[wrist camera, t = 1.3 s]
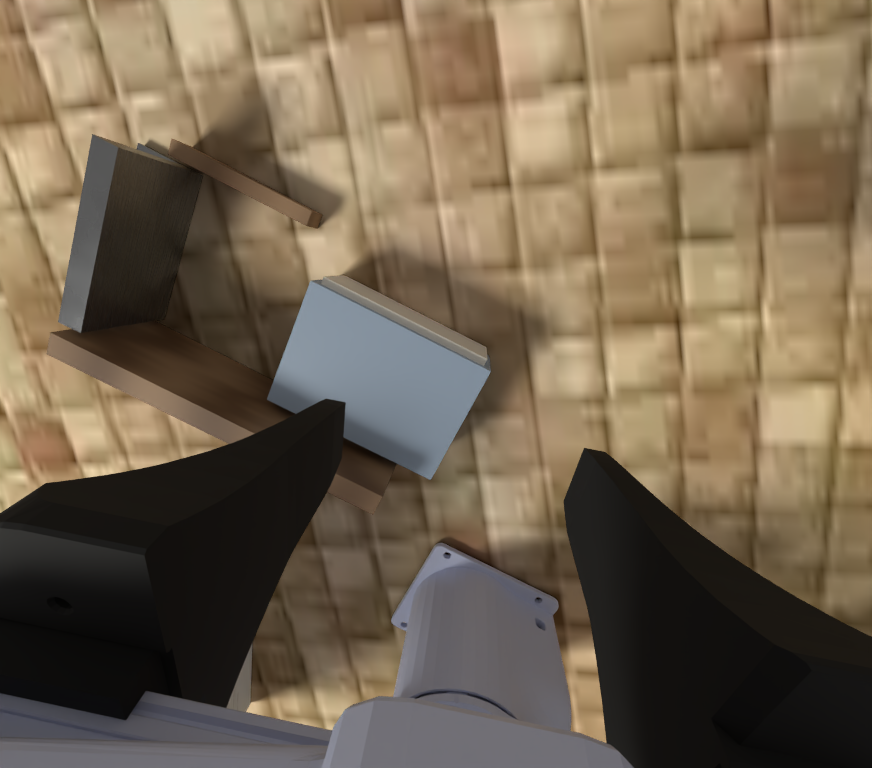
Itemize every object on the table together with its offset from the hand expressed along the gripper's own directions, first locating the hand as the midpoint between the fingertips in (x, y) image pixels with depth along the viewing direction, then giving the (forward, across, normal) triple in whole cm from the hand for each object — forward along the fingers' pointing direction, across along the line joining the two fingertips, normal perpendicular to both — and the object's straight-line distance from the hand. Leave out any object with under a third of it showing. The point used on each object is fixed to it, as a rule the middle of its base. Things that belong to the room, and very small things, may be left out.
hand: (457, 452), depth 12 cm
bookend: (+13, +19, -2) cm, 23 cm away
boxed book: (+12, +4, +3) cm, 14 cm away
